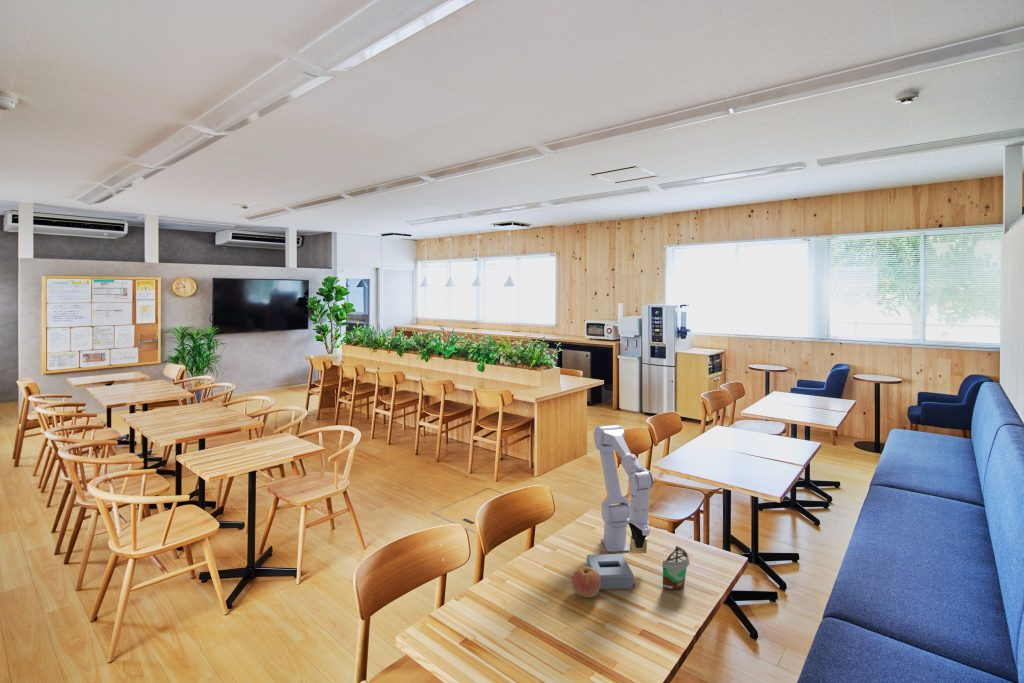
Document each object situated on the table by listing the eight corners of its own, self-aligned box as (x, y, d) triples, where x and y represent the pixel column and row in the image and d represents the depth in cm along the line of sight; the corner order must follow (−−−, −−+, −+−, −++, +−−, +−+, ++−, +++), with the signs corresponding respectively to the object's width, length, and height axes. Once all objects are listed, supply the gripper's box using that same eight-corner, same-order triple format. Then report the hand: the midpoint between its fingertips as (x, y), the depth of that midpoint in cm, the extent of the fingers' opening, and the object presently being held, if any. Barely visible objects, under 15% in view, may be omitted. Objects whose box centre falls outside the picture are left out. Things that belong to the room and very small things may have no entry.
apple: (599, 604, 154) (600, 579, 154) (570, 600, 156) (570, 575, 155) (600, 587, 163) (601, 564, 162) (572, 584, 165) (573, 560, 164)
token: (629, 550, 174) (630, 536, 174) (644, 549, 175) (645, 535, 174) (631, 553, 172) (632, 539, 172) (646, 553, 173) (647, 538, 172)
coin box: (586, 568, 174) (586, 554, 173) (621, 567, 175) (622, 553, 174) (595, 590, 162) (595, 575, 161) (632, 588, 163) (633, 574, 162)
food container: (680, 598, 158) (682, 567, 157) (660, 590, 162) (662, 560, 161) (693, 580, 168) (695, 551, 167) (674, 573, 172) (676, 544, 171)
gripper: (621, 497, 178) (619, 535, 180) (634, 517, 164) (632, 557, 166) (641, 497, 179) (639, 534, 181) (656, 516, 165) (654, 556, 166)
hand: (637, 545), depth 173 cm, fingers closed on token, 2 cm apart
